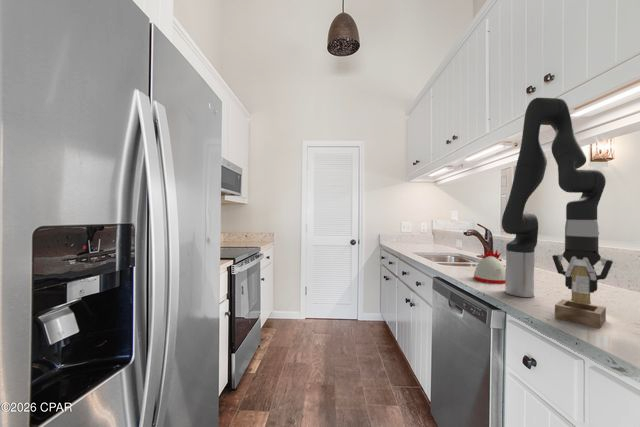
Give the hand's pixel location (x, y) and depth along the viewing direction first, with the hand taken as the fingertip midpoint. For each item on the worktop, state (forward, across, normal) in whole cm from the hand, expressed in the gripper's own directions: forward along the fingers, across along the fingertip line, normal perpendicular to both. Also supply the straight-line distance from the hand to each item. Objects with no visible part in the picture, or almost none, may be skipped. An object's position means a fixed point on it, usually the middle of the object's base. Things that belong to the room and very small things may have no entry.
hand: (581, 290), depth 86 cm
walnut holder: (+9, 0, 0) cm, 9 cm away
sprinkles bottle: (+4, 0, 0) cm, 4 cm away
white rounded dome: (+9, -38, +33) cm, 51 cm away
